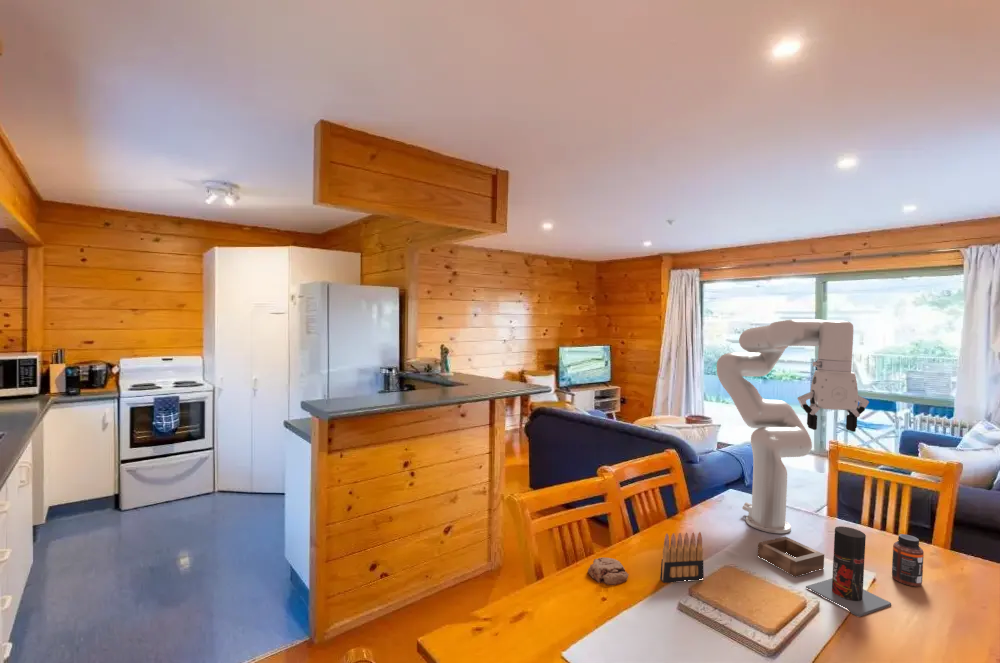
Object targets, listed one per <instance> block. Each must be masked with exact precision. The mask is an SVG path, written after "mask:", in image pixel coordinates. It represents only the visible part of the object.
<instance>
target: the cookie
mask: <svg viewBox="0 0 1000 663" xmlns="http://www.w3.org/2000/svg"><path fill="white" fill-rule="evenodd" d="M587 573H588V574H589V576H590V578H592V579H593V580H594V581H596V582H597V583H602V584H605V585H610V586H614V585H615V586H616V585H618V584H621V583H625V582H626V581H627V580H628V578H629V574H630V573H627V571H626V569H625V566H623V564H622V563H621V561H619V560H617V559H616V558H612V557H611V558H610V557H597V558H595V559H593V563H592V564H590V565H589V567H588V568H587Z"/></svg>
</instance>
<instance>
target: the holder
mask: <svg viewBox="0 0 1000 663" xmlns="http://www.w3.org/2000/svg"><path fill="white" fill-rule="evenodd" d="M786 552H787V553H788V554H790V555H792V556H794V557H796V558H794V557H792V556H790V555H788V554H785V553H786ZM757 556H759V557H760V558H763V559H765V560H767V561H768V562H770V563H772V564H774V565H775V566H777V567H779V568H781V569H783V570H784V571H783V570H782V571H783V572H785V571H786V572H785V573H787V572H788V573H789V575H790V574H791V575H790V576H792V575H793V576H792V577H794V576H795V577H794V578H797V577H796V576H798V577H801V576H803V575H802V574H805V575H807V574H806V573H808V574H810V573H809V572H811V571H815V570H819V569H823V568H824V567H825V554H824V553H822V552H821V551H818V550H816V549H813V548H811V547H809V546H807V545H805V544H803V543H801V542H799V541H796V540H794V539H792V538H790V537H787V536H781V537H777V538H776V537H775V538H773V539H768V540H764V541H761V542H758V543H757ZM757 556H756V557H757ZM760 558H759V559H760ZM768 562H767V563H768ZM770 563H769V564H770ZM772 564H771V565H772ZM775 566H774V567H775ZM777 567H776V568H777ZM779 568H778V569H779ZM781 569H780V570H781ZM824 569H825V568H824ZM824 569H823V570H824ZM819 571H820V570H819ZM788 573H787V574H788ZM800 575H801V576H800Z"/></svg>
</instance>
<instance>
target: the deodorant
mask: <svg viewBox="0 0 1000 663" xmlns="http://www.w3.org/2000/svg"><path fill="white" fill-rule="evenodd" d="M833 539H834V541H833V558H832V560H833V561H832V578H831V579H832V591H833V592H834V593H835V594H836V595H837V596H839V597H841V598H844V599H847V600H851V601H861V600H862V597H863V589H864V578H865V577H864V576H865V559H866V558H865V557H866V556H865V555H866V533H865V532H862V531H861V530H859V529H856V528H852V527H848V526H842V525H841V526H835V528H834V538H833Z"/></svg>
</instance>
